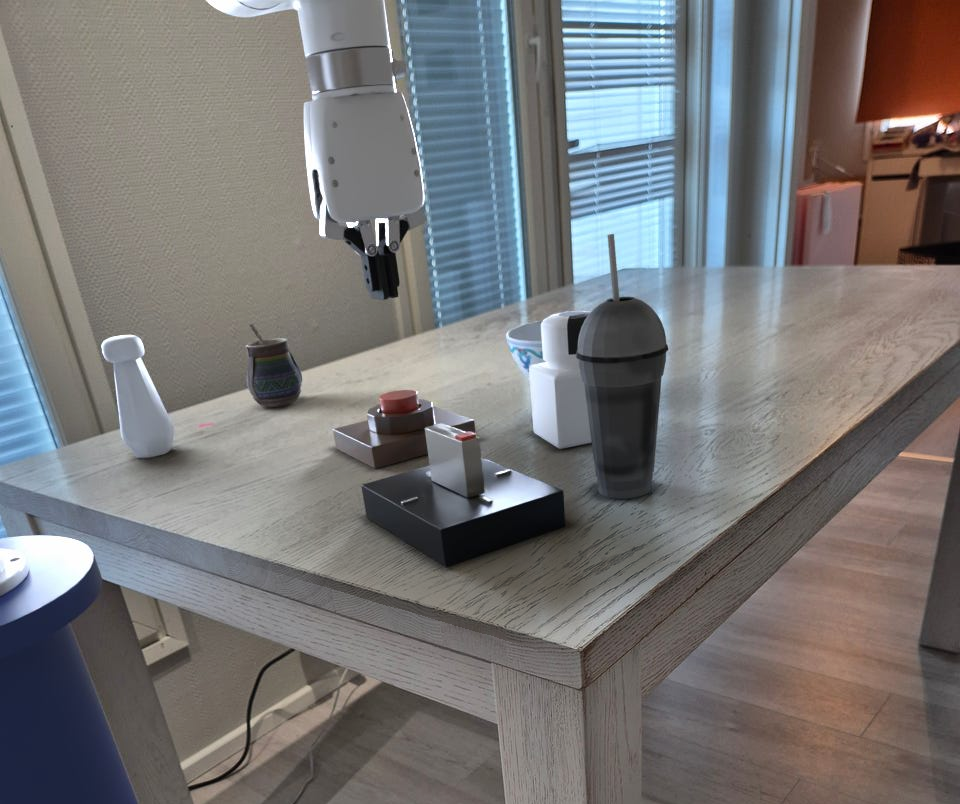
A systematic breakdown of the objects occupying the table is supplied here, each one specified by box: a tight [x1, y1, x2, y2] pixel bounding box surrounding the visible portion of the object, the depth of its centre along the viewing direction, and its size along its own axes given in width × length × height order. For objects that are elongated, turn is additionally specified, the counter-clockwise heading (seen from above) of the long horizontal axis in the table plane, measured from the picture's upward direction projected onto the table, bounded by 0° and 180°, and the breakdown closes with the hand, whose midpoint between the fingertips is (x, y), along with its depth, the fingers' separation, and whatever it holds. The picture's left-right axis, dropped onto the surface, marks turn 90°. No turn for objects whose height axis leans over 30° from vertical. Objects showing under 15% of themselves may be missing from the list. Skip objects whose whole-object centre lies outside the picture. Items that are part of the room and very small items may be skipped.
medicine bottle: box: [529, 310, 592, 450], centre depth 86 cm, size 7×7×12 cm
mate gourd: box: [245, 323, 303, 409], centre depth 114 cm, size 7×8×10 cm
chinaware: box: [505, 319, 546, 381], centre depth 102 cm, size 15×15×8 cm
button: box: [378, 389, 419, 414], centre depth 91 cm, size 4×4×2 cm
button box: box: [332, 398, 477, 469], centre depth 92 cm, size 12×10×4 cm
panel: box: [360, 457, 566, 568], centre depth 71 cm, size 11×14×3 cm
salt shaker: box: [101, 334, 175, 459], centre depth 97 cm, size 6×6×13 cm
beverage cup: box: [576, 233, 669, 500], centre depth 69 cm, size 7×7×20 cm
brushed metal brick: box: [425, 423, 485, 498], centre depth 69 cm, size 6×2×5 cm, turn 32°
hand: (384, 297), depth 85 cm, fingers closed
